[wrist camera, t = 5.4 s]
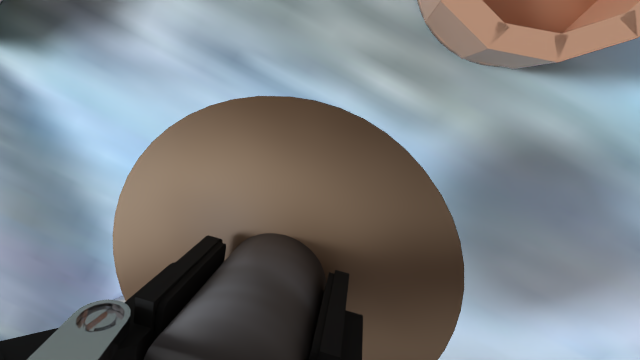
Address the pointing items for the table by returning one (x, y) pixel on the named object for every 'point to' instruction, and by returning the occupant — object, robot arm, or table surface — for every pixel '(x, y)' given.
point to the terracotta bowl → (529, 28)
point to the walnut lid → (290, 232)
